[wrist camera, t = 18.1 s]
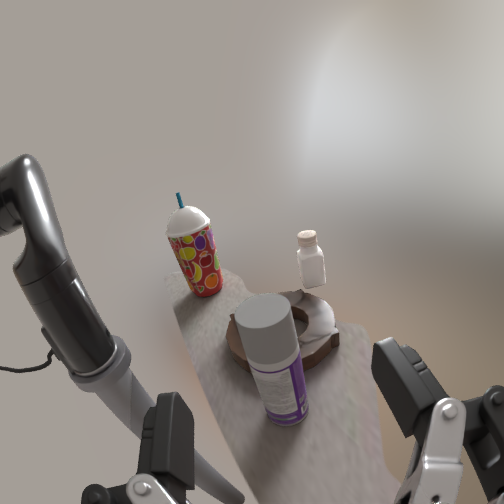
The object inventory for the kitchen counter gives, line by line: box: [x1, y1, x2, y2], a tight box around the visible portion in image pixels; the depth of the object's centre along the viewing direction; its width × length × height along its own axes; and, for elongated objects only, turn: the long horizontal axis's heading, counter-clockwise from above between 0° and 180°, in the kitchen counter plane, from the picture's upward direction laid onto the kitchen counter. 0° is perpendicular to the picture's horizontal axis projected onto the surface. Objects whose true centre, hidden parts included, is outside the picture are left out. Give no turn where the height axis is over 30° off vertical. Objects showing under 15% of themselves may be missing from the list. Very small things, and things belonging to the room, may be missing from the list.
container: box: [234, 293, 308, 426], centre depth 25 cm, size 5×5×15 cm
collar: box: [226, 289, 339, 373], centre depth 39 cm, size 15×15×2 cm
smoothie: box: [166, 193, 223, 297], centre depth 52 cm, size 8×8×20 cm
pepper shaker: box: [297, 230, 326, 289], centre depth 48 cm, size 4×4×10 cm
